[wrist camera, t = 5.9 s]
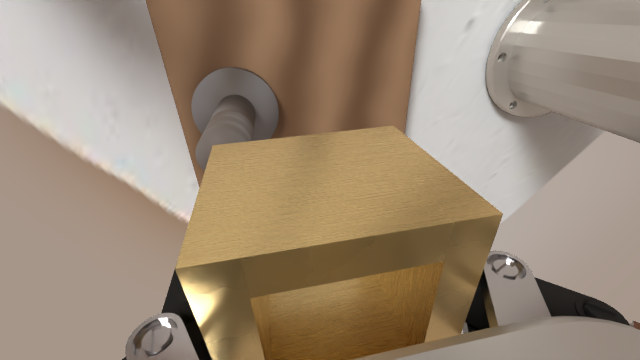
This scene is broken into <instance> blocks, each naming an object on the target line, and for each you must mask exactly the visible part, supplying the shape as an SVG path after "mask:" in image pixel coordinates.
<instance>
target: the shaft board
mask: <svg viewBox="0 0 640 360" xmlns="http://www.w3.org/2000/svg"><path fill="white" fill-rule="evenodd" d="M146 3H147V7H148V10H149V14H150V17H151V21H152V24H153V28H154V31H155V34H156V38H157V41H158V45H159V48H160V52H161V55H162V59H163V62H164V66H165V69H166V73H167V76H168V80H169V83H170V87H171V90H172V94H173V97H174V101H175V104H176V108H177V111H178V115H179V118H180V122H181V125H182V128H183V132H184V135H185V139H186V142H187V146H188V149H189V153H190V156H191V160H192V163H193V167H194V170H195V174H196V177H197V181H198V184H199V188H200V185H201V182H202V179H203V176H204V172H205V169H206V166H207V163H208V159H209V156H210V153H211V149H212V146H213V145H221V144H230V143H239V142H248V141H257V140H266V139H276V138H285V137H294V136H303V135H312V134H322V133H331V132H340V131H349V130H358V129H367V128H377V127H386V126H394V127H396V128H397V129H398V130H399V131H401V132H402V133H403V134H404V133H405V125H406V117H407V109H408V101H409V93H410V85H411V77H412V69H413V61H414V53H415V45H416V37H417V29H418V21H419V13H420V5H421V0H146Z"/></svg>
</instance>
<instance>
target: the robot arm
mask: <svg viewBox="0 0 640 360" xmlns="http://www.w3.org/2000/svg"><path fill="white" fill-rule="evenodd" d="M486 83H487V88H488V91H489V95H490V96H491V98H492V100H493V102H494V103H495V104H496V105H497V106H498V107H499V108H500V109H502V110H504V111H505V112H507V113H510V114H512V115H515V116H518V117H537V116H540V115H544V114H547V113H549V112H555V113H558V114H560V115H563V116H566V117H569V118H572V119H574V120H577V121H580V122H583V123H586V124H588V125H591V126H594V127H597V128H600V129H602V130H605V131H608V132H611V133H614V134H616V135H619V136H622V137H625V138H627V139H630V140H633V141H636V142H639V143H640V0H523V1H521V2H520V3H519V4H518V5H517V6H516V7H515V9H514V10H513V11H512V12H511V14H510V15H509V16H508V17H507V18H506V20H505V22H504V23H503V25H502V26H501V28H500V30H499V31H498V33H497V35H496V37H495V40H494V42H493V44H492V46H491V50H490V53H489V57H488V60H487V68H486ZM177 261H178V260H177ZM122 360H212V357H211V355H210V353H209V350H208V348H207V345H206V343H205V340H204V338H203V336H202V333H201V331H200V328H199V326H198V324H197V321H196V319H195V316H194V314H193V311H192V309H191V307H190V304H189V302H188V299H187V297H186V294H185V292H184V290H183V287H182V285H181V282H180V280H179V278H178V275H177V273H176V270H175V271H174V274H173V277H172V280H171V284H170V287H169V290H168V293H167V297H166V300H165V303H164V306H163V310H162V313H161V314H158V315H155V316H153V317H150V318H149V319H147V320H146V321H144V322H143V323H141V324H140V325H139V326H138V327H137V328H136V329H135V330H134V331H133V333H132V334H131V336H130V337H129V339H128V341H127V344H126V357H125V358H124V359H122ZM352 360H640V323H638V322H636V321H633V322H632V323H631V324H629V323H628V321H627V320H626V319H625V318H624V317H623V316H622V315H621V314H620V313H619V312H618V311H617V310H615V309H614V308H613V307H611V306H609V305H608V304H606V303H604V302H602V301H599V300H597V299H595V298H592V297H589V296H586V295H583V294H580V293H577V292H575V291H572V290H569V289H566V288H563V287H561V286H558V285H555V284H552V283H549V282H546V281H544V280H540V279H538V278H535V277H534V276H533V274H532V271H531V269H530V268H529V266H528V265H527V264H526V263H525V262H524V261H523V260H521V259H520V258H518V257H517V256H515V255H512V254H510V253H507V252H503V251H490V252H489V255H488V258H487V261H486V264H485V266H484V269H483V272H482V275H481V278H480V281H479V283H478V286H477V289H476V292H475V295H474V298H473V300H472V303H471V306H470V309H469V312H468V314H467V317H466V320H465V323H464V326H463V334H460V335H456V336H452V337H447V338H443V339H438V340H434V341H430V342H425V343H421V344H417V345H412V346H408V347H404V348H399V349H395V350H391V351H387V352H382V353H378V354H374V355H369V356H365V357H361V358H357V359H352Z"/></svg>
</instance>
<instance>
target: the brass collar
mask: <svg viewBox="0 0 640 360" xmlns="http://www.w3.org/2000/svg"><path fill="white" fill-rule="evenodd" d="M502 215H503V213H501V212H500V211H499V210H498V209H496V208H495V207H494V206H493V205H491V204H490V203H489V202H488V201H486V200H485V199H484V198H483V197H481V196H480V195H479V194H478V193H476V192H475V191H474V190H473V189H471V188H470V187H469V186H468V185H467V184H465V183H464V182H463V181H462V180H460V179H459V178H458V177H457V176H455V175H454V174H453V173H452V172H450V171H449V170H448V169H447V168H445V167H444V166H443V165H442V164H440V163H439V162H438V161H437V160H435V159H434V158H433V157H432V156H430V155H429V154H428V153H427V152H426V151H424V150H423V149H422V148H421V147H419V146H418V145H417V144H416V143H414V142H413V141H412V140H411V139H409V138H408V137H407V136H406V135H404V134H403V133H402V132H401V131H399V130H398V129H397V128H396V127H394V126H386V127H377V128H367V129H358V130H349V131H340V132H331V133H322V134H312V135H303V136H294V137H285V138H276V139H266V140H257V141H248V142H239V143H230V144H221V145H213V146H212V149H211V153H210V156H209V159H208V163H207V166H206V169H205V172H204V176H203V179H202V182H201V185H200V189H199V192H198V195H197V199H196V202H195V205H194V208H193V212H192V215H191V218H190V221H189V225H188V228H187V231H186V235H185V238H184V241H183V244H182V248H181V251H180V254H179V258H178V261H177V264H176V267H175V270H176V273H177V275H178V278H179V280H180V282H181V285H182V287H183V290H184V292H185V294H186V297H187V299H188V302H189V304H190V307H191V309H192V311H193V314H194V316H195V319H196V321H197V324H198V326H199V328H200V331H201V333H202V336H203V338H204V340H205V343H206V345H207V348H208V350H209V353H210V355H211V357H212V360H352V359H357V358H361V357H365V356H369V355H374V354H378V353H382V352H387V351H391V350H395V349H399V348H404V347H408V346H412V345H417V344H421V343H425V342H430V341H434V340H438V339H443V338H447V337H452V336H456V335H460V334H461V331H462V329H463V326H464V323H465V320H466V317H467V314H468V312H469V309H470V306H471V303H472V300H473V298H474V295H475V292H476V289H477V286H478V283H479V281H480V278H481V275H482V272H483V269H484V266H485V264H486V261H487V258H488V255H489V252H490V249H491V247H492V244H493V241H494V238H495V235H496V232H497V229H498V227H499V224H500V221H501V218H502Z"/></svg>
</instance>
